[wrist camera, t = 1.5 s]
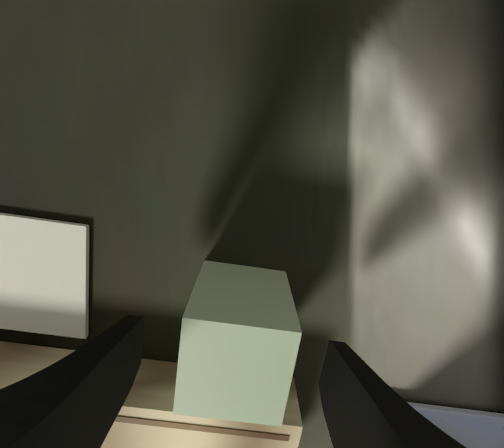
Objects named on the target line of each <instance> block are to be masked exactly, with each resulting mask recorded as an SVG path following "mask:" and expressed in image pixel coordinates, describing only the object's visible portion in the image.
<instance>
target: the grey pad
mask: <svg viewBox="0 0 504 448" xmlns="http://www.w3.org/2000/svg"><path fill="white" fill-rule="evenodd" d="M88 323H89V225H86V224H79V223H72V222H65V221H58V220H50V219H43V218H36V217H29V216H22V215H14V214H7V213H0V329H8V330H16V331H24V332H33V333H41V334H49V335H57V336H65V337H73V338H81V339H86V338H87V336H88Z"/></svg>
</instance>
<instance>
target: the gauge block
mask: <svg viewBox="0 0 504 448" xmlns="http://www.w3.org/2000/svg"><path fill="white" fill-rule="evenodd" d="M301 335H302V331H301V327H300V324H299V320H298V316H297V312H296V308H295V305H294V301H293V297H292V293H291V289H290V286H289V282H288V278H287V274H286V271H279V270H272V269H265V268H257V267H250V266H243V265H235V264H228V263H220V262H213V261H206V260H204V263H203V265H202V268H201V271H200V273H199V276H198V278H197V281H196V284H195V286H194V289H193V291H192V294H191V296H190V299H189V302H188V304H187V307H186V309H185V312H184V314H183V317H182V325H181V336H180V346H179V356H178V366H177V376H176V386H175V396H174V407H173V414H176V415H184V416H193V417H202V418H211V419H219V420H228V421H237V422H246V423H254V424H263V425H272V426H281V427H282V422H283V417H284V413H285V408H286V404H287V399H288V395H289V390H290V385H291V381H292V376H293V372H294V367H295V363H296V358H297V353H298V349H299V344H300V340H301Z"/></svg>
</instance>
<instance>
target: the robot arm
mask: <svg viewBox="0 0 504 448" xmlns="http://www.w3.org/2000/svg"><path fill="white" fill-rule="evenodd" d="M143 328H144V317H138V316H130V315H128V316H126V317H125V318H123V319H122V320H120V321H119V322H117V323H116V324H115V325H113V326H112V327H110V328H109V329H107V330H106V331H105V332H103V333H102V334H100V335H99V336H97V337H96V338H94V339H93V340H91V341H90V342H88V343H87V344H85V345H84V346H82V347H80V348H79V349H77V350H75V351H74V352H72V353H70V354H69V355H67V356H65V357H64V358H62V359H61V360H59V361H57V362H55V363H53V364H52V365H50V366H48V367H46V368H44V369H42V370H40V371H38V372H36V373H34V374H32V375H30V376H28V377H26V378H24V379H22V380H20V381H18V382H15V383H13V384H11V385H9V386H6V387H4V388H2V389H0V448H101V446H102V444H103V442H104V440H105V438H106V436H107V434H108V432H109V431H110V429H111V427H112V425H113V423H114V421H115V419H116V417H117V415H118V413H119V412H120V410H121V408H122V406H123V404H124V402H125V400H126V398H127V396H128V394H129V392H130V390H131V388H132V386H133V383H134V381H135V378H136V376H137V373H138V370H139V367H140V365H141V360H142V344H143ZM319 389H320V396H321V402H322V408H323V412H324V416H325V419H326V423H327V426H328V430H329V433H330V437H331V440H332V444H333V447H334V448H504V414H502V413H494V412H486V411H477V410H469V409H461V408H453V407H444V406H436V405H428V404H420V403H411V402H406V401H405V400H404V399H403V398H402V397H400V396H399V395H398V394H397V393H396V392H395V391H394V390H393V389H392V388H391V387H389V386H388V385H387V384H386V383H385V382H384V381H383V380H382V379H381V378H380V377H379V376H378V375H377V374H376V373H375V372H374V371H373V370H372V369H371V368H370V367H369V366H368V365H367V364H366V363H365V362H364V361H363V360H362V359H361V358H360V357H359V356H358V355H357V354H356V353H355V352H354V351H353V350H352V349H351V348H350V347H349V346H348V345H347V344H346V343H345V342H338V341H330V340H329V344H328V348H327V352H326V356H325V360H324V364H323V368H322V372H321V376H320V380H319Z"/></svg>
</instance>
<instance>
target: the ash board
mask: <svg viewBox="0 0 504 448" xmlns="http://www.w3.org/2000/svg"><path fill="white" fill-rule="evenodd" d="M74 351H75V350H69V349H61V348H53V347H45V346H37V345H29V344H21V343H12V342H4V341H0V389H2V388H4V387H6V386H9V385H11V384H13V383H15V382H18V381H20V380H22V379H24V378H26V377H28V376H30V375H32V374H34V373H36V372H38V371H40V370H42V369H44V368H46V367H48V366H50V365H52V364H53V363H55V362H57V361H59V360H61V359H62V358H64V357H65V356H67V355H69V354H70V353H72V352H74ZM177 366H178V363H176V362H167V361H159V360H151V359H143V358H142V360H141V365H140V367H139V370H138V373H137V376H136V378H135V381H134V383H133V386H132V388H131V390H130V392H129V394H128V396H127V398H126V400H125V402H124V404H123V406H122V408H121V410H120V412H119V413H118V415H117V417H116V419H115V421H114V423H113V425H112V427H111V429H110V431H109V432H108V434H107V436H106V438H105V440H104V442H103V444H102V446H101V448H298V445H299V441H300V436H301V432H302V428H303V425H302V420H301V414H300V409H299V403H298V398H297V392H296V386H295V381H294V377H292V381H291V385H290V390H289V395H288V399H287V404H286V408H285V413H284V417H283V422H282V427H281V426H272V425H263V424H254V423H246V422H237V421H228V420H219V419H211V418H202V417H193V416H184V415H176V414H173V407H174V396H175V386H176V376H177Z"/></svg>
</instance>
